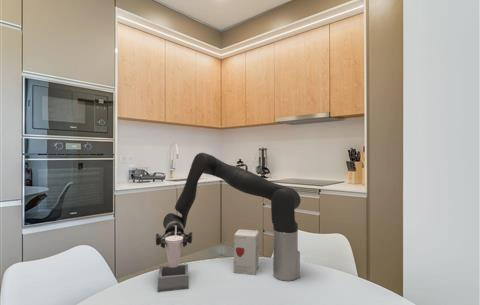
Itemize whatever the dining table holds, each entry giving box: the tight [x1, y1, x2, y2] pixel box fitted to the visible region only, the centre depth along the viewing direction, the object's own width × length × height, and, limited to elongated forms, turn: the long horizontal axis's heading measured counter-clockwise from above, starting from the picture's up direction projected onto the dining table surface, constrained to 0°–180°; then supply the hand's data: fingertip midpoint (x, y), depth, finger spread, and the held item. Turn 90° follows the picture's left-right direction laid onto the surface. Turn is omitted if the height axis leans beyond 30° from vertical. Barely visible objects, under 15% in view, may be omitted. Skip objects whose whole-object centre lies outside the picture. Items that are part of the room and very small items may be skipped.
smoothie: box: [165, 226, 183, 268], centre depth 93 cm, size 6×6×14 cm
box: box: [157, 263, 190, 293], centre depth 92 cm, size 10×10×4 cm
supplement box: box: [233, 228, 260, 276], centre depth 105 cm, size 9×9×15 cm
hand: (174, 244), depth 90 cm, fingers closed on smoothie, 6 cm apart
